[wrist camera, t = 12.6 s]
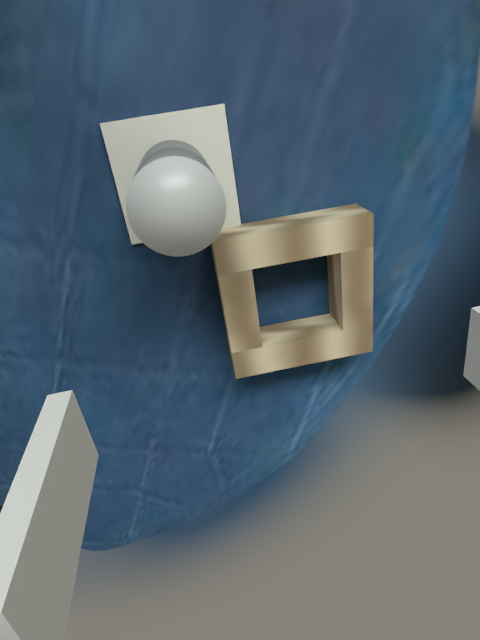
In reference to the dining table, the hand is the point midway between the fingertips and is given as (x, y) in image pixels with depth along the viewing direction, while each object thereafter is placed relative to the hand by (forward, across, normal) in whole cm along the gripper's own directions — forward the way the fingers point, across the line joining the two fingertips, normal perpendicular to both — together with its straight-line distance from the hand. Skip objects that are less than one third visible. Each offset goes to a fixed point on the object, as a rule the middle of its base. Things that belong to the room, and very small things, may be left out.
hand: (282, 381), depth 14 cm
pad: (+28, -2, +3) cm, 28 cm away
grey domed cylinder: (+27, -2, +3) cm, 28 cm away
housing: (+28, +6, -9) cm, 30 cm away
